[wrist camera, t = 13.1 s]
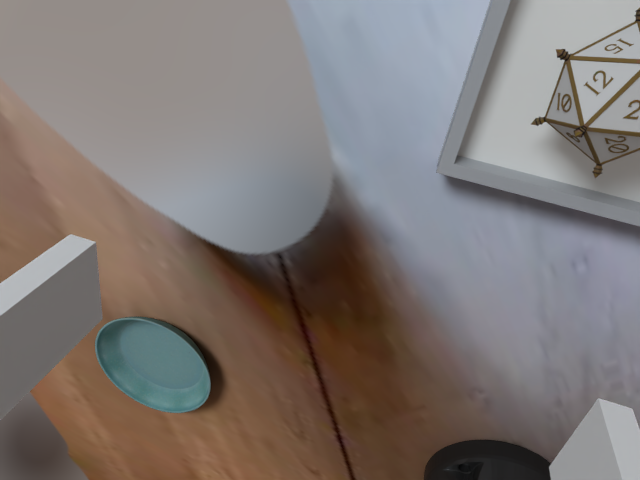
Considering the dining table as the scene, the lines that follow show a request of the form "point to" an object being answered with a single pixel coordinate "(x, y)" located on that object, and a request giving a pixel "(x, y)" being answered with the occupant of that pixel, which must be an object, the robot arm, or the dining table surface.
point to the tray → (535, 109)
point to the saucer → (153, 363)
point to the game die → (600, 97)
